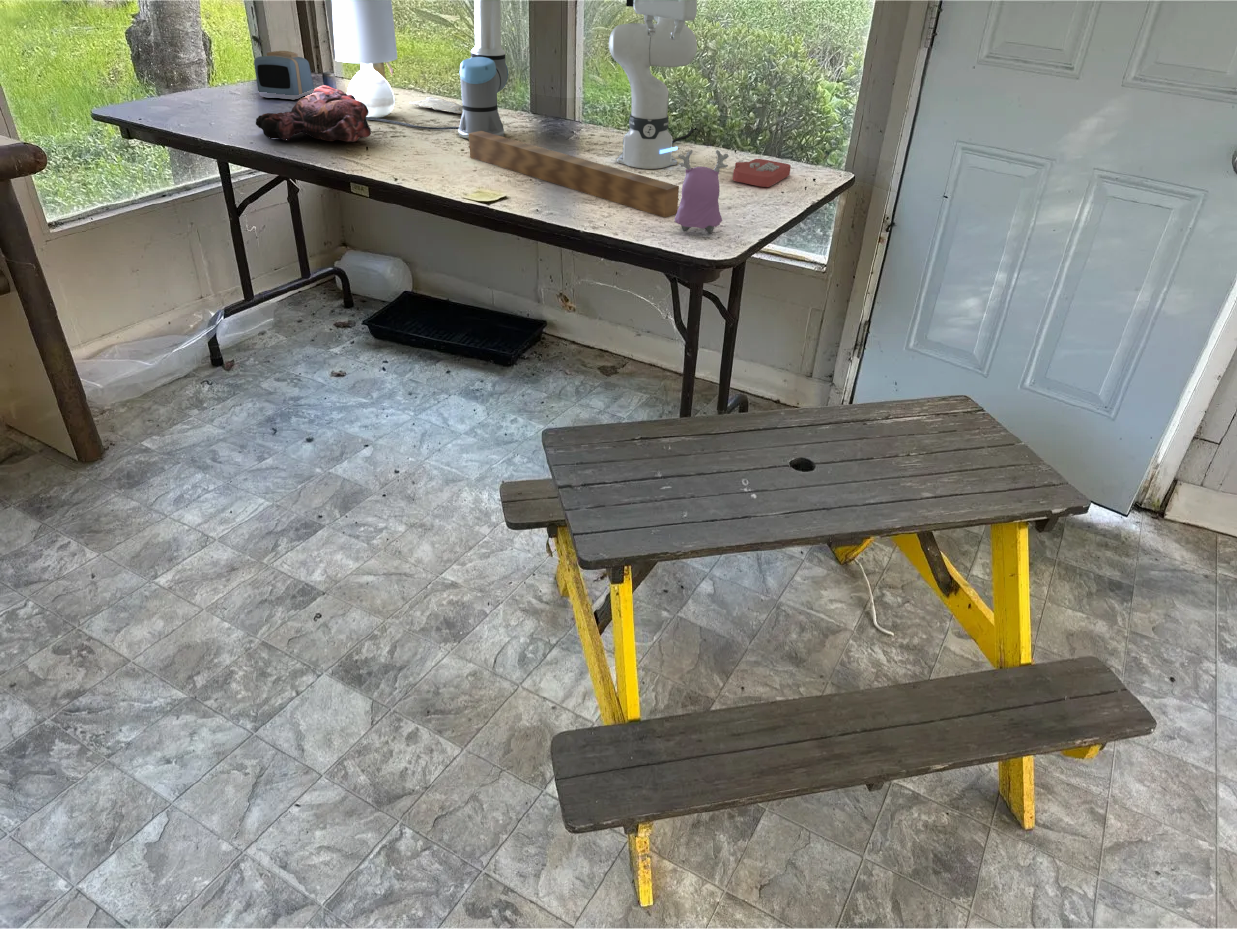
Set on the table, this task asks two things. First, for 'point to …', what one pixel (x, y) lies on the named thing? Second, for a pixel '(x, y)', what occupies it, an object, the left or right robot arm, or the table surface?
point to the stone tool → (439, 105)
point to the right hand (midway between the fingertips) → (662, 37)
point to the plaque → (760, 172)
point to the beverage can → (329, 79)
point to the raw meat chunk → (320, 117)
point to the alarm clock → (283, 73)
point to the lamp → (364, 48)
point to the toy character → (700, 195)
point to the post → (576, 173)
